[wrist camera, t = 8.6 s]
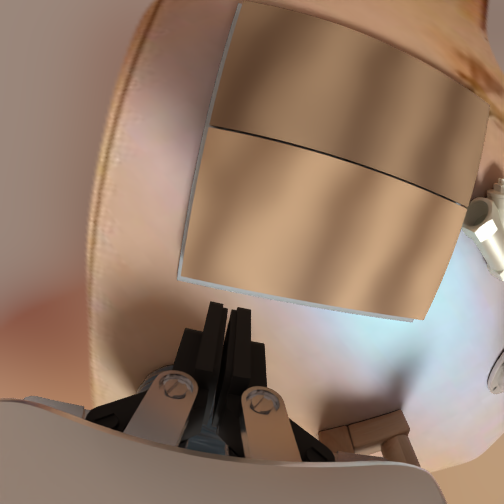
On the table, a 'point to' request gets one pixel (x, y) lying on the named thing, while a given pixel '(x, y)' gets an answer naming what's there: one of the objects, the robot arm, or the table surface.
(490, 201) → the pipe fitting
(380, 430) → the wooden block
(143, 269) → the table surface
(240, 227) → the plank
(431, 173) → the floor board
